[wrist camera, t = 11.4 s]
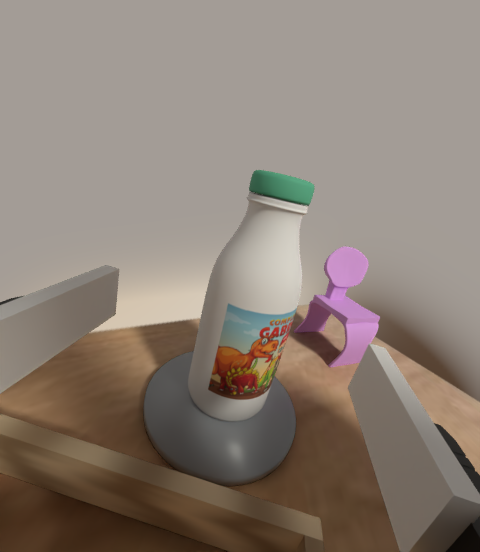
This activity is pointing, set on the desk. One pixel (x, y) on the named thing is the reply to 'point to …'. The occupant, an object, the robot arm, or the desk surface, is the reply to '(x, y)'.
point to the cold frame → (153, 492)
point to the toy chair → (343, 305)
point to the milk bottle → (251, 301)
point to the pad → (215, 430)
